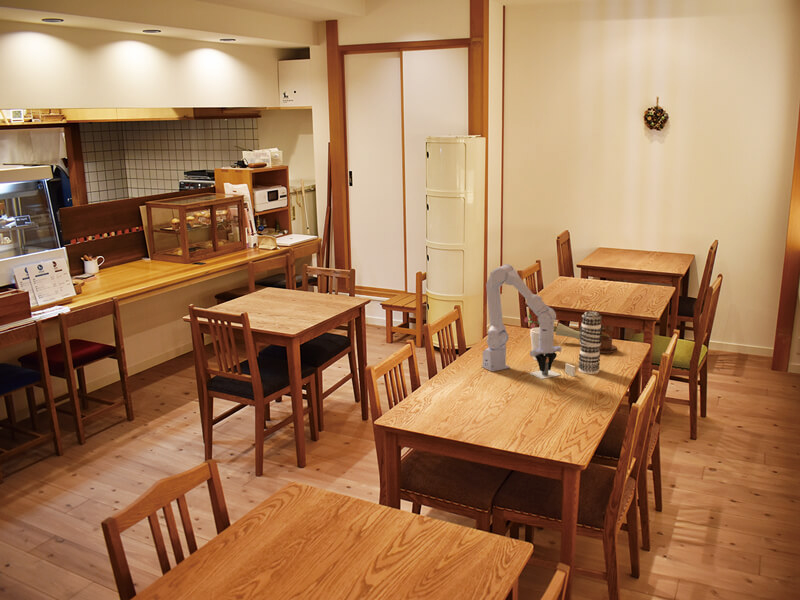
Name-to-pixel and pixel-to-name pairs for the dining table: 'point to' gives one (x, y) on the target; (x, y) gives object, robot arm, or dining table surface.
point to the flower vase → (559, 329)
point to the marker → (546, 367)
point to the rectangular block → (570, 369)
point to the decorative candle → (590, 342)
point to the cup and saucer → (606, 345)
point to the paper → (540, 376)
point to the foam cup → (535, 339)
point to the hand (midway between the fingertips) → (545, 370)
